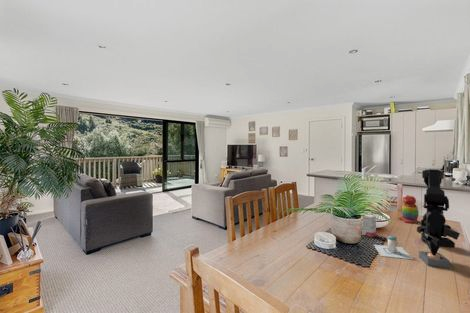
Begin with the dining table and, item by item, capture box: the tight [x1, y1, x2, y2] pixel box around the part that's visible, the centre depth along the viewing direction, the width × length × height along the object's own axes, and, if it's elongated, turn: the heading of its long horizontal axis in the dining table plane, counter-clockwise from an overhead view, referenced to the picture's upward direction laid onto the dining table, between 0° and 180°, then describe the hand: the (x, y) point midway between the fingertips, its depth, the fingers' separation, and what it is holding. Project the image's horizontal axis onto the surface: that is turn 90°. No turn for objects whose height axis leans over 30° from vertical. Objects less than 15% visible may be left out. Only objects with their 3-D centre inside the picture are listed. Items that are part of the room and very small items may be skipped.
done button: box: [427, 253, 440, 259], centre depth 105 cm, size 4×4×2 cm
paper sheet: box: [373, 244, 415, 260], centre depth 115 cm, size 13×13×1 cm
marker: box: [387, 235, 398, 253], centre depth 115 cm, size 4×4×7 cm
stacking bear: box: [397, 195, 420, 224], centre depth 162 cm, size 11×10×18 cm
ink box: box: [361, 214, 377, 238], centre depth 138 cm, size 9×5×12 cm, turn 33°
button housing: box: [418, 250, 451, 269], centre depth 105 cm, size 8×8×3 cm
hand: (433, 254), depth 105 cm, fingers closed
